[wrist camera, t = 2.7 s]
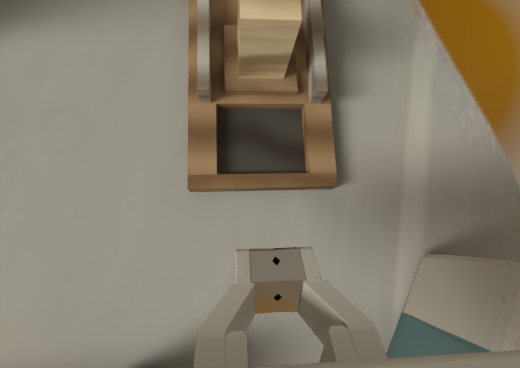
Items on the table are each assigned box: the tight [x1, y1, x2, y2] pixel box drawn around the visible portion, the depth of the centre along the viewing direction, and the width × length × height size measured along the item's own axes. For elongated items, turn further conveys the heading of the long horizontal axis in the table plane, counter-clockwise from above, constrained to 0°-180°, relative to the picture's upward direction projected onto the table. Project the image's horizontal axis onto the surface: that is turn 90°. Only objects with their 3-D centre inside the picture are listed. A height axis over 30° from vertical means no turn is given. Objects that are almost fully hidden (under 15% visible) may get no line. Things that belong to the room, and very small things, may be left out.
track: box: [188, 0, 338, 192], centre depth 34 cm, size 37×16×5 cm, turn 2°
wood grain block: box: [224, 0, 302, 95], centre depth 29 cm, size 8×8×10 cm
